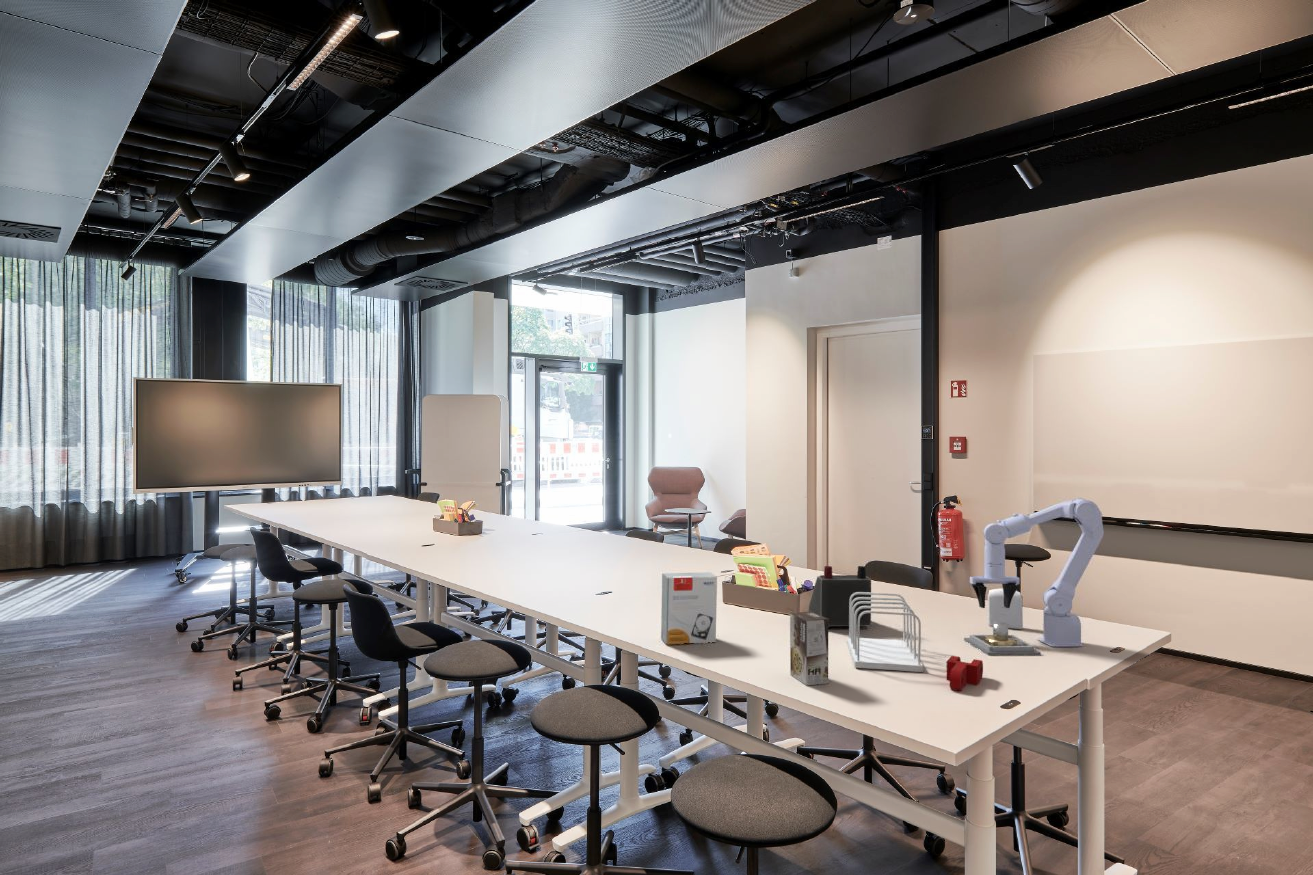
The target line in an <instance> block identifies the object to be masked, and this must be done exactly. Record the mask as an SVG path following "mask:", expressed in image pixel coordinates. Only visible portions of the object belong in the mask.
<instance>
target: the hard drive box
mask: <svg viewBox="0 0 1313 875" xmlns="http://www.w3.org/2000/svg"><path fill="white" fill-rule="evenodd" d="M717 596H718V576H717V575H715V574H714V573H713V572H664V573H662V574H661V614H660V615H661V617H660V618H661V620H660V621H661V623H660V624H661V627H660V639H661V640H662V641H663V643H664V644H665V645H676V644H680V645H685V644H684V643H694V644H701V643H703V644H713V643H712V642H716V643H717V638H716V637H717ZM708 642H710V643H708Z"/></svg>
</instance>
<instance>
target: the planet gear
mask: <svg viewBox="0 0 1313 875" xmlns="http://www.w3.org/2000/svg"><path fill="white" fill-rule="evenodd" d="M990 635H991V636H985V637H984V642H985V643H987V644H989V645H991V646H1018V642H1017V640H1016V639H1011V638H1008V635H1009V628H1008V624H1006V623H1001V622H995V623H993V627H992V634H990Z"/></svg>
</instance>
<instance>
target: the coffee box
mask: <svg viewBox="0 0 1313 875" xmlns="http://www.w3.org/2000/svg"><path fill="white" fill-rule="evenodd" d="M828 621H829V619H827V618H825V617H823V616H821V615H818V614H816V613H814V612H811V611H809V610H808V611H799V612H790V613H789V630H790V631H789V633H790V634H789V638H790V639H789V640H790V641H789V644H790V645H789V647H790V648H789V649H790V650H789V651H790V652H789V653H790V656H789V657H790V667H789V668H790V672H789V673H790V676H791V675H792V676H791V677H793V678H795V679H796V680H798V682H801V683H802V684H803V685H805V686H817V684H818V685H827V684H829V629H828Z"/></svg>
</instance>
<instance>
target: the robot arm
mask: <svg viewBox="0 0 1313 875" xmlns="http://www.w3.org/2000/svg"><path fill="white" fill-rule="evenodd" d="M1057 518H1067V519H1074V520H1075V521H1076V522H1077V523H1078V526H1079V528H1080V530H1081V535H1080V537H1079V539H1078V541H1077V542H1076V544H1075V546H1074V548H1073V550H1072V552H1071V554H1070V556H1069V558H1068V559H1067V561H1066V563H1065V565H1064V567H1063V569H1062V571H1061V573H1060V574H1059V576H1058V578H1057V579H1056V580H1055V581H1054V582H1053V583H1052V586H1050V588H1048V589H1047V590H1046V591H1044V593H1043V595H1042V600H1043V603H1044V605H1045V606H1046V607H1045V608H1044V609H1043V622H1042V623H1043V624H1042V625H1043V633H1042V634H1043V637H1037V639H1036V640H1038V641H1040V642H1041V643H1042V644H1043V643H1044V644H1046V645H1047V646H1050V647H1052V648H1055V647H1057V648H1058V647H1059V648H1060V647H1061V648H1062V647H1065V648H1066V647H1067V648H1068V647H1077V648H1078V647H1083V645H1084V644H1082V622H1081V620H1080V617H1079V615H1077V614H1075V613H1072V612H1071V611H1072V609H1073V599H1074V597H1075V593H1076V587H1077V585H1078V584H1079V582H1080V580H1081V578H1082V576H1083V575H1084V573H1085V571H1086V570H1087V567H1088V565H1089V564H1090V561H1091V560H1092V558H1093V557H1094V554H1095V552H1096V550H1097V549H1098V547H1099V545H1100V543H1101V541H1102V539H1103V537H1104V534H1105V532H1104V526H1103V524H1104V523H1103V513H1102V511H1101V509H1100V508H1099V507H1098V505H1097V504H1096V503H1095V502H1094V501H1092V500H1090V499H1085V498H1083V497H1082V498H1081V497H1077V498H1073V499H1072V500H1065V501H1062V502H1058V503H1056V504H1054V505H1051V506H1049V507H1046V508H1044V509H1041V510H1038V511H1037V512H1033V513H1031V514H1029V515H1026V514H1024V513H1019V514H1018V513H1017V512H1015V513H1013V514H1012V516H1011V517H1007V518H1005V519H1002V520H1001V519H997V520H996V522H997V523H995V522H991V523H989V524H987V525H986V526H985V527H984V529H983V530H982V533H983V536H984V538H985V540H984V548H983V549H984V558H983V559H984V561H983V562H984V564H983V565H984V573H983V574H984V575H978V576H969V584H971V587H972V588H973V591H974V592H975V594H976V598H977V601H978V602H977V603H978V607H979V608H981V609H985V608H986V593H987V589H988V587H987V586H985V585H987V584H989V585H993V584H994V585H1000V584H1001V585H1002V589H1003V593H1004V607H1006V608H1010V604H1011V600H1012V598H1013V595H1014V594H1015V592H1016V591H1018V588H1019V585H1020V577H1018V576H1006V548H1005V541H1006V540H1007V539H1013V538H1014V537H1015V538H1016V537H1017V536H1020V535H1023V534H1026V533H1028V532H1031V530H1032V528H1033V526H1035V525H1039V524H1042V523H1045V522H1048V521H1051V520H1054V519H1057Z"/></svg>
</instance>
